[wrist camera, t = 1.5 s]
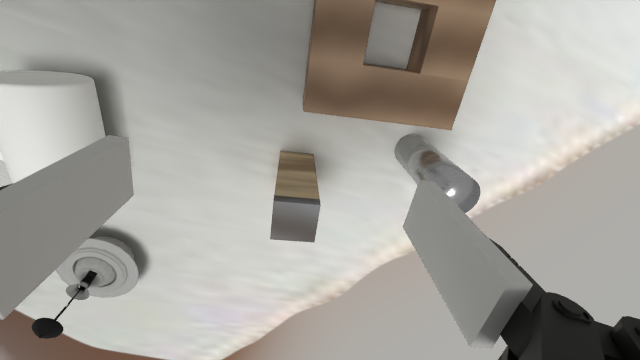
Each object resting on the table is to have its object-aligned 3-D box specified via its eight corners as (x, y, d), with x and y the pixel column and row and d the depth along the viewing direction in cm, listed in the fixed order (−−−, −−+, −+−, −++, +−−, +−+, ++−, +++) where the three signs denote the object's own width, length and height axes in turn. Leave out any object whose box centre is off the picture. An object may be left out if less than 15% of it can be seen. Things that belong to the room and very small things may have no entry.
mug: (111, 76, 31) (54, 89, 23) (126, 164, 35) (83, 197, 28) (-19, 62, 29) (-120, 71, 22) (15, 155, 34) (-62, 188, 26)
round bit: (399, 132, 36) (443, 174, 25) (430, 136, 36) (487, 179, 25) (391, 162, 37) (429, 214, 27) (420, 166, 38) (470, 217, 27)
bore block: (323, -77, 26) (327, -94, 23) (486, -42, 28) (514, -54, 25) (302, 103, 33) (303, 111, 30) (435, 120, 35) (451, 130, 32)
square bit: (280, 150, 35) (273, 200, 25) (313, 154, 36) (320, 205, 25) (277, 180, 37) (270, 239, 26) (309, 183, 38) (314, 242, 27)
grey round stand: (-4, 286, 26) (-32, 348, 29) (109, 327, 30) (73, 378, 33) (84, 212, 37) (57, 262, 40) (160, 248, 41) (129, 292, 44)
